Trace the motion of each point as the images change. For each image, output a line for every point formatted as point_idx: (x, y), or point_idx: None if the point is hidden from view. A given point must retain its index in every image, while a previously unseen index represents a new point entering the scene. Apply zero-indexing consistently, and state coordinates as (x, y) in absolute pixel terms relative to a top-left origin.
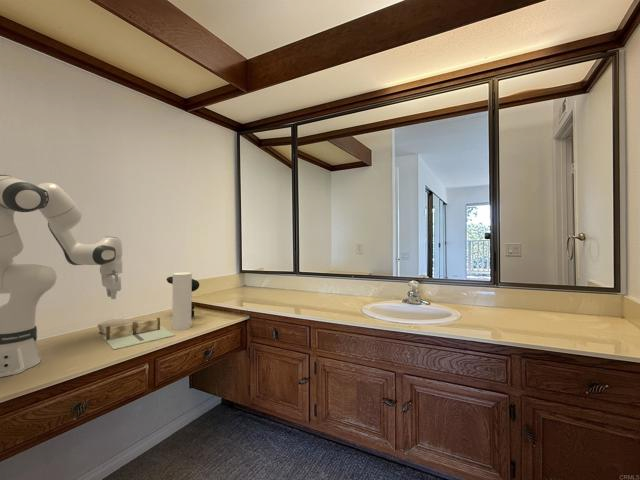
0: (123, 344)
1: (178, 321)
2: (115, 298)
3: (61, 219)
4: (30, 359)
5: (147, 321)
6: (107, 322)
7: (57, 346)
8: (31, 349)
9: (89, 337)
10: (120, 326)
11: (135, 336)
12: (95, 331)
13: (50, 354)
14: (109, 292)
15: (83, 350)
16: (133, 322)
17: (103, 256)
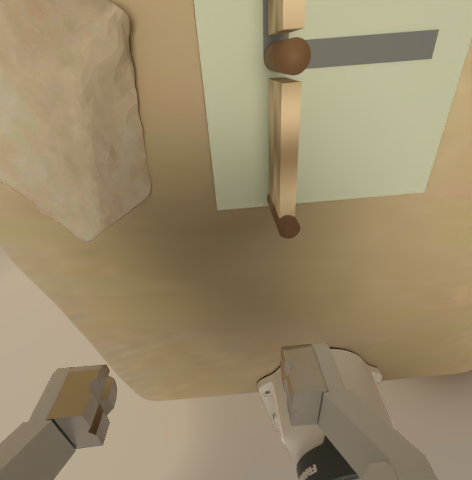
0: (404, 148)
1: None
2: (326, 345)
3: None
4: (365, 377)
5: None
6: (63, 197)
7: (216, 325)
8: (368, 402)
9: (165, 249)
10: (297, 162)
11: (329, 64)
12: None
13: (286, 335)
14: (58, 444)
15: (325, 271)
16: (290, 66)
17: None
